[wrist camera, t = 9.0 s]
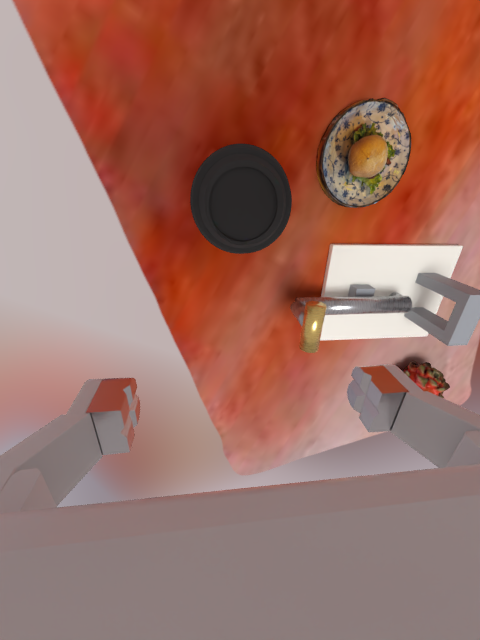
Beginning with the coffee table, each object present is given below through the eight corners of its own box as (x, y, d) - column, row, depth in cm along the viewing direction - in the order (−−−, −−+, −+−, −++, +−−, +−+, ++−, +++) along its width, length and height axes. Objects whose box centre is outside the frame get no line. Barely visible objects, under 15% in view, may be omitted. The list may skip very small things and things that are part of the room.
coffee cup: (212, 140, 33) (219, 112, 19) (276, 179, 35) (320, 179, 22) (183, 212, 36) (171, 230, 23) (243, 243, 39) (264, 276, 25)
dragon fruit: (408, 343, 53) (396, 384, 60) (389, 370, 48) (379, 410, 56) (461, 362, 47) (441, 404, 54) (445, 394, 43) (426, 435, 50)
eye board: (313, 337, 47) (340, 375, 38) (330, 243, 40) (368, 262, 31) (423, 333, 50) (473, 367, 41) (457, 244, 43) (527, 262, 34)
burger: (381, 213, 39) (417, 219, 33) (305, 200, 37) (327, 204, 31) (418, 111, 34) (469, 95, 28) (331, 90, 32) (364, 67, 25)
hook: (281, 316, 43) (302, 353, 34) (285, 280, 40) (309, 309, 31) (393, 313, 45) (441, 347, 36) (404, 279, 43) (459, 305, 34)
